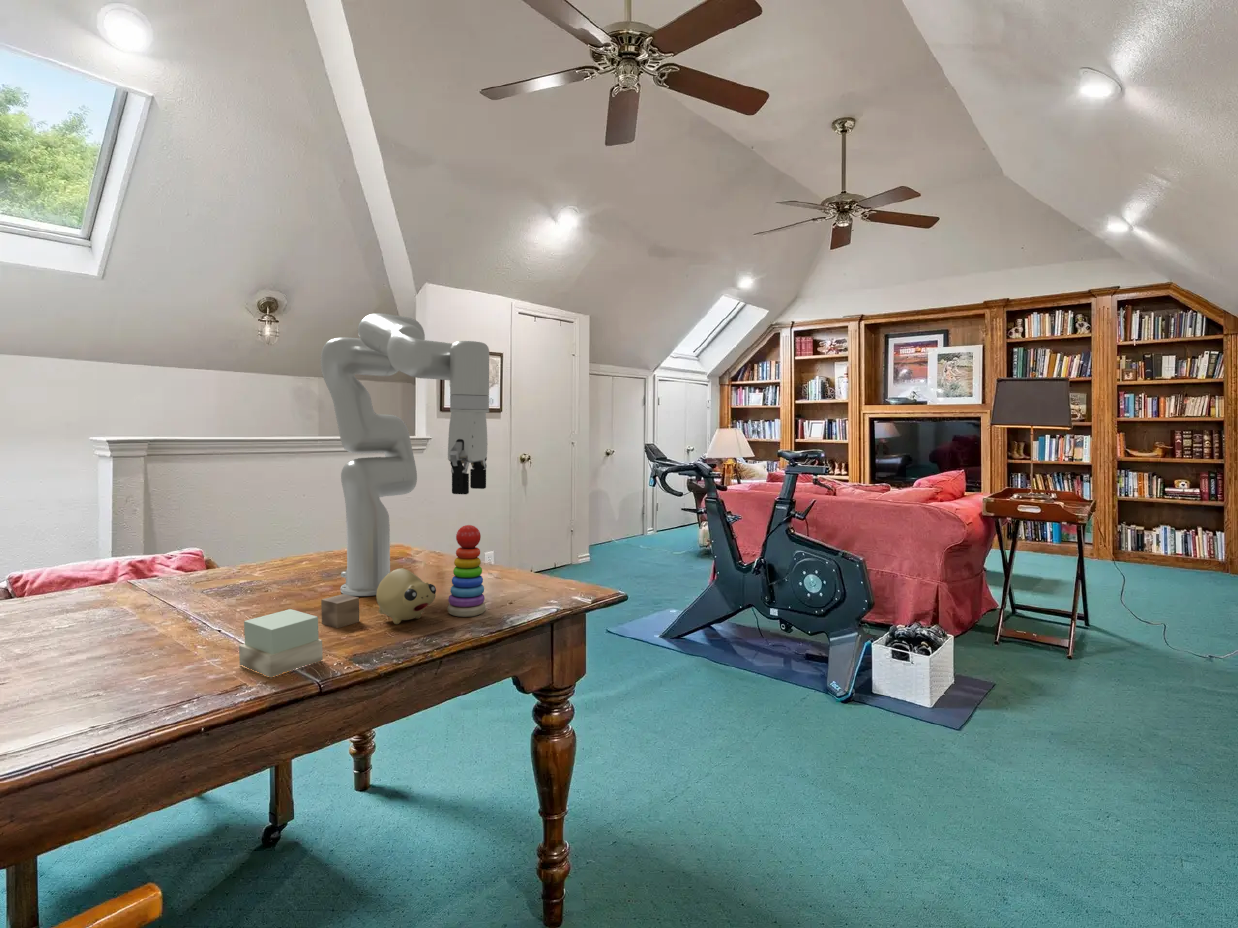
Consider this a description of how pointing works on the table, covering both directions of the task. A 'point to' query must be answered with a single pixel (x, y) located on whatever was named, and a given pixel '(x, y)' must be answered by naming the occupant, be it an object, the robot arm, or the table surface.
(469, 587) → the stacking toy
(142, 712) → the table surface
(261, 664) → the base block
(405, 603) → the toy frog
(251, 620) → the top block
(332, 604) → the walnut cube
